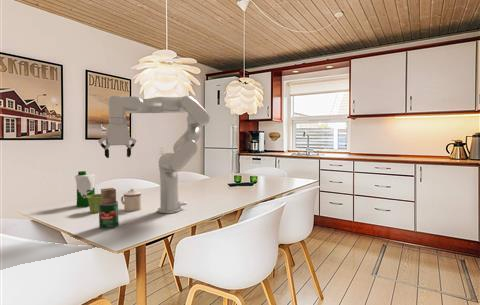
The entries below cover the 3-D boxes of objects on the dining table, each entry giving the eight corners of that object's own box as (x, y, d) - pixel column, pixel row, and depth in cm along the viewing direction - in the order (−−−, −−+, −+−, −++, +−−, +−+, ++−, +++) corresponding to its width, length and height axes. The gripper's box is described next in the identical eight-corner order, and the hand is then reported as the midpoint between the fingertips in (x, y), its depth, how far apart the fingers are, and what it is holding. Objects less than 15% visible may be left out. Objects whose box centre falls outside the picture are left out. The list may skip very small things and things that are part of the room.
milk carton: (84, 203, 170) (83, 170, 169) (98, 204, 168) (97, 170, 167) (73, 206, 161) (72, 172, 160) (87, 207, 159) (87, 172, 158)
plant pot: (98, 214, 145) (97, 197, 145) (82, 213, 147) (82, 197, 147) (110, 209, 154) (109, 194, 154) (95, 209, 156) (94, 193, 156)
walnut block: (113, 200, 128) (112, 187, 128) (116, 202, 124) (115, 189, 124) (101, 202, 125) (100, 189, 124) (103, 204, 121) (103, 190, 120)
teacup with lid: (144, 208, 158) (144, 187, 158) (134, 212, 150) (134, 190, 149) (126, 206, 162) (126, 186, 161) (115, 210, 153) (115, 189, 153)
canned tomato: (115, 223, 130) (114, 199, 130) (121, 227, 125) (120, 202, 124) (96, 226, 125) (96, 202, 125) (102, 231, 119) (101, 205, 119)
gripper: (133, 122, 143) (134, 156, 144) (96, 121, 132) (96, 157, 133) (138, 122, 137) (138, 157, 138) (99, 120, 126) (100, 158, 127)
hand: (118, 157), depth 136 cm, fingers open, 9 cm apart
